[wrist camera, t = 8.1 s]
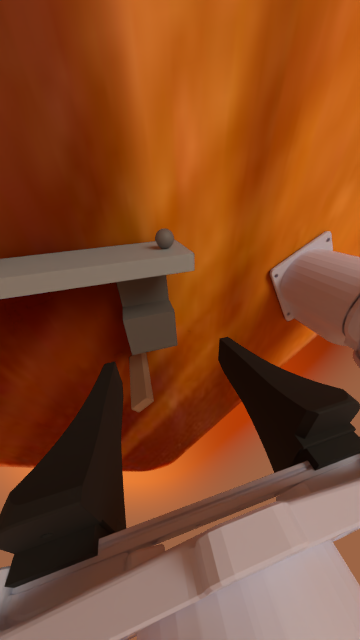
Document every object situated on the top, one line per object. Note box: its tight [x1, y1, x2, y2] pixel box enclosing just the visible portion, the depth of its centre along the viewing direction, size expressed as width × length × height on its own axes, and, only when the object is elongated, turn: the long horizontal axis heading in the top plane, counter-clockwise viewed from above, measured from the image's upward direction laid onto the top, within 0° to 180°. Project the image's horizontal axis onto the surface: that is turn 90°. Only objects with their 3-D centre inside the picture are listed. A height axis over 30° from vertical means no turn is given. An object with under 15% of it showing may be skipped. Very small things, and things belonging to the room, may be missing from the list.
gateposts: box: [129, 352, 154, 412], centre depth 15 cm, size 23×2×7 cm, turn 38°
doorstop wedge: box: [116, 275, 177, 355], centre depth 19 cm, size 8×4×5 cm, turn 4°
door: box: [0, 229, 194, 299], centre depth 14 cm, size 14×3×6 cm, turn 94°
